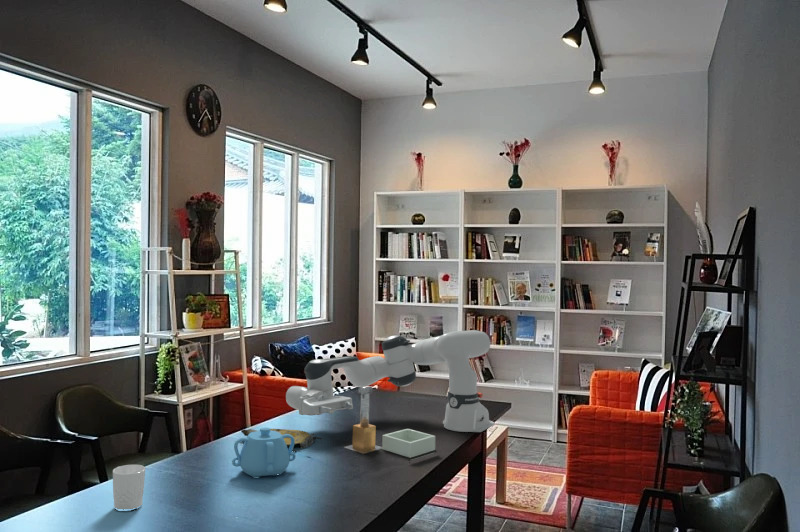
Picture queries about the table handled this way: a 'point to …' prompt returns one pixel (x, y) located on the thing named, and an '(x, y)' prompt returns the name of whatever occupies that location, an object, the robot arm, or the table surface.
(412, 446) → the bin
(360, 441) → the strut
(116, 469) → the white cup
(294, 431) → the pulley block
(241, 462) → the decorative pot
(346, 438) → the table surface
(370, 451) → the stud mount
